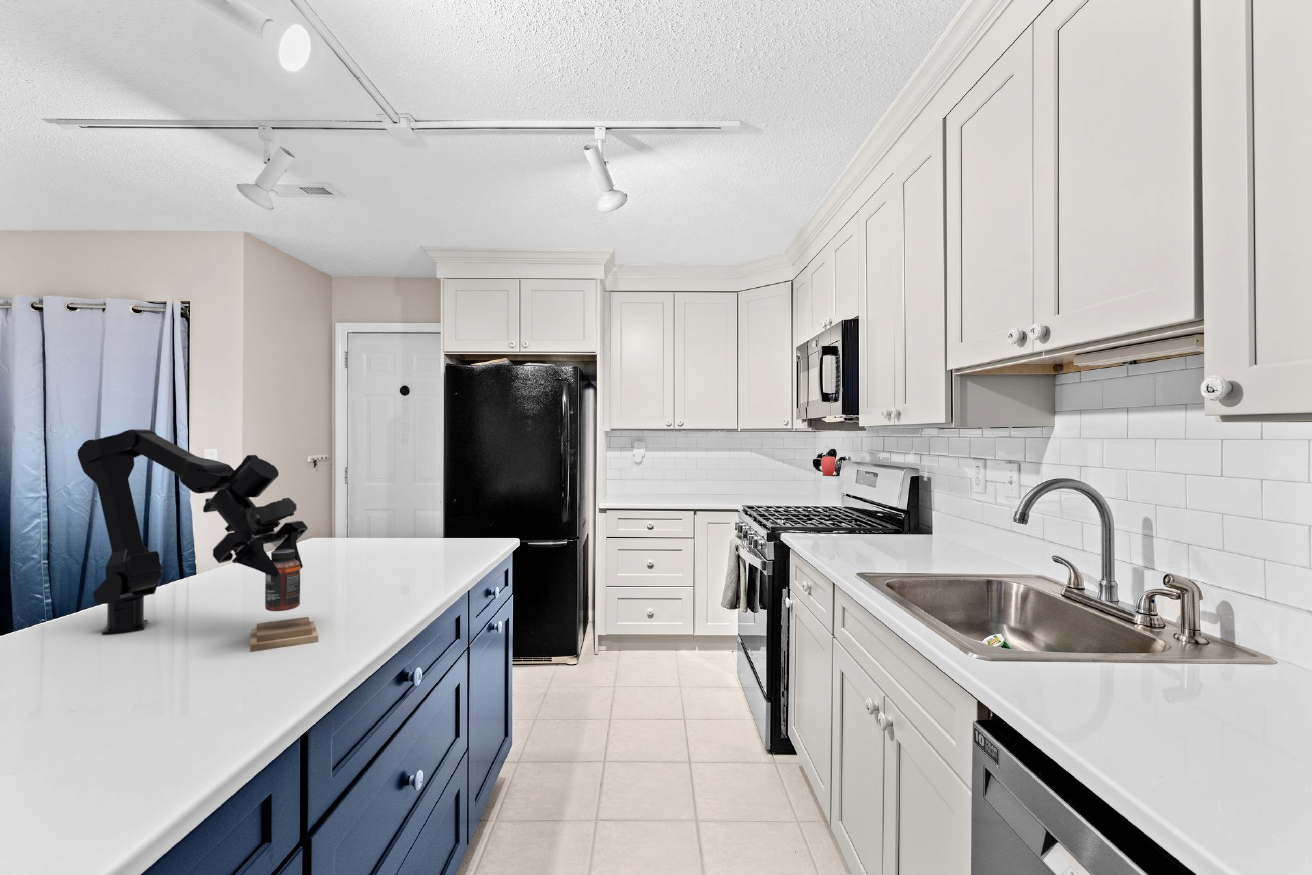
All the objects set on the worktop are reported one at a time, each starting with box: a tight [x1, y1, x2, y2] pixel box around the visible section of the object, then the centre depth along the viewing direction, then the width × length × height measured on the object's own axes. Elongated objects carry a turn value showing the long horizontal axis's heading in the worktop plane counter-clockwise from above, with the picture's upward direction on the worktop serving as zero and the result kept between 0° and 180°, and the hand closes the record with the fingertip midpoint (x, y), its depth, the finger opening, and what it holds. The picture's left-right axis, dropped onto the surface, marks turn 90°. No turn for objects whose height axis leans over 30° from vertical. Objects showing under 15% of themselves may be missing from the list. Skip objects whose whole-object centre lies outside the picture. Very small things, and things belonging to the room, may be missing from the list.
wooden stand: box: [250, 616, 319, 653], centre depth 123 cm, size 11×11×2 cm
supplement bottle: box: [264, 549, 301, 612], centre depth 123 cm, size 6×6×11 cm
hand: (289, 571), depth 123 cm, fingers closed on supplement bottle, 6 cm apart
